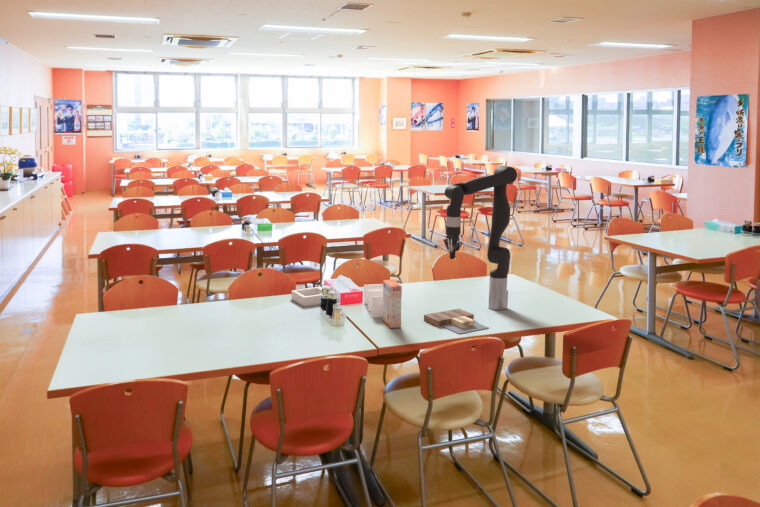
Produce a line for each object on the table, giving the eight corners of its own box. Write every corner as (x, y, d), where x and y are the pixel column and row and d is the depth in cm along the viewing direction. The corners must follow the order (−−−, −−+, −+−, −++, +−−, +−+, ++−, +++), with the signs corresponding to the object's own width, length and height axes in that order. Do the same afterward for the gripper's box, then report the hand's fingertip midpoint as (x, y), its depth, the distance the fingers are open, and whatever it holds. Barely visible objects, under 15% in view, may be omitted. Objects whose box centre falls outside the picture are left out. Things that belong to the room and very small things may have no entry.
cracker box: (401, 328, 310) (402, 285, 306) (389, 328, 308) (389, 286, 304) (394, 319, 323) (394, 279, 319) (382, 320, 322) (382, 279, 318)
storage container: (393, 316, 329) (393, 295, 327) (372, 317, 327) (372, 296, 325) (383, 303, 353) (383, 283, 351) (363, 304, 351) (363, 284, 349)
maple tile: (464, 321, 319) (464, 315, 318) (474, 326, 312) (474, 320, 312) (451, 324, 315) (451, 318, 314) (461, 328, 308) (461, 322, 308)
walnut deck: (458, 314, 333) (459, 308, 332) (473, 320, 323) (473, 314, 322) (423, 320, 322) (423, 314, 321) (438, 326, 312) (438, 320, 311)
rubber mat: (469, 320, 323) (469, 319, 323) (488, 328, 310) (488, 327, 310) (440, 325, 314) (440, 324, 314) (459, 334, 301) (459, 333, 301)
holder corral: (318, 295, 368) (318, 286, 367) (332, 302, 354) (332, 293, 353) (291, 299, 359) (291, 290, 358) (304, 306, 345) (303, 297, 344)
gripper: (467, 226, 321) (466, 260, 325) (451, 223, 332) (450, 255, 336) (455, 227, 317) (454, 262, 321) (439, 224, 328) (438, 257, 332)
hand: (452, 258), depth 328 cm, fingers closed
